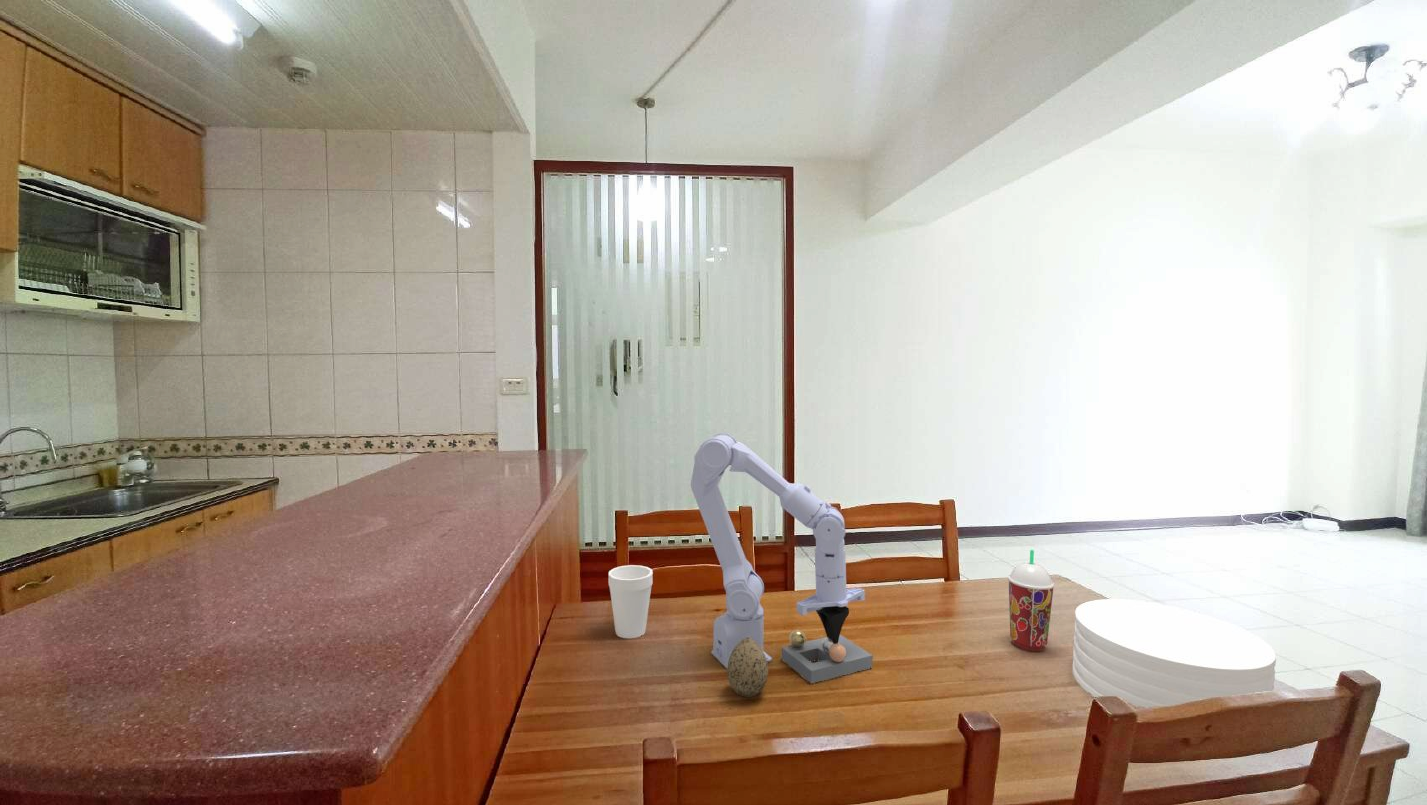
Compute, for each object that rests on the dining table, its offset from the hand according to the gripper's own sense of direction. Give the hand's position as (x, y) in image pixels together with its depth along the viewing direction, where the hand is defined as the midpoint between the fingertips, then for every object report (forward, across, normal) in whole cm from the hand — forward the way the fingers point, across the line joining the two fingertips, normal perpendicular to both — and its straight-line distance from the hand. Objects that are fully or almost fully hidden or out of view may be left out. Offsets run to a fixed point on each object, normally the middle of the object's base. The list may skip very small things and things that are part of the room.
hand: (832, 643), depth 113 cm
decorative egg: (+4, -20, -2) cm, 20 cm away
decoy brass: (0, -4, +5) cm, 7 cm away
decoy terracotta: (0, -1, -3) cm, 3 cm away
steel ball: (0, 0, 0) cm, 1 cm away
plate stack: (+8, +48, -32) cm, 58 cm away
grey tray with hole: (+4, -1, +1) cm, 5 cm away
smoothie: (+7, +42, -10) cm, 44 cm away
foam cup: (+2, -31, +30) cm, 43 cm away
